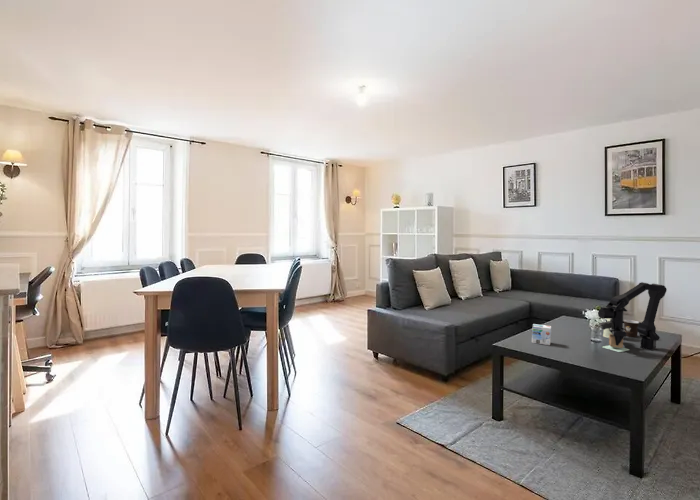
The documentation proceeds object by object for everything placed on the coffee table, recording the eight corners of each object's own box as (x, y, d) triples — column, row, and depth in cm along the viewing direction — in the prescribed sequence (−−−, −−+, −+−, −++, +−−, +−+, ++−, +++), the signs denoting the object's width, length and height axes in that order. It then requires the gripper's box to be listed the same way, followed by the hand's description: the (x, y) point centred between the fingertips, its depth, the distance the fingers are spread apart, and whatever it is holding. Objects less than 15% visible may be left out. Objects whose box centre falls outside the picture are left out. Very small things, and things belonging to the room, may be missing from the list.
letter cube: (608, 343, 235) (609, 333, 234) (620, 345, 232) (621, 335, 232) (610, 346, 229) (611, 336, 229) (622, 347, 227) (623, 337, 226)
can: (619, 339, 249) (620, 321, 248) (602, 337, 254) (603, 319, 253) (619, 336, 256) (620, 319, 255) (603, 334, 262) (604, 316, 261)
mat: (629, 350, 229) (629, 349, 228) (619, 352, 224) (619, 351, 224) (612, 345, 238) (612, 344, 238) (602, 347, 233) (602, 346, 233)
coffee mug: (642, 338, 253) (643, 323, 252) (628, 337, 253) (629, 323, 252) (629, 333, 265) (630, 318, 264) (617, 332, 265) (617, 318, 264)
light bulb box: (531, 342, 241) (532, 326, 241) (532, 340, 247) (532, 323, 247) (550, 345, 236) (551, 328, 236) (550, 342, 242) (551, 325, 242)
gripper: (598, 313, 241) (597, 337, 243) (604, 320, 224) (603, 346, 226) (619, 315, 237) (618, 340, 238) (627, 322, 220) (625, 349, 221)
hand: (615, 343), depth 231 cm, fingers closed on letter cube, 6 cm apart
